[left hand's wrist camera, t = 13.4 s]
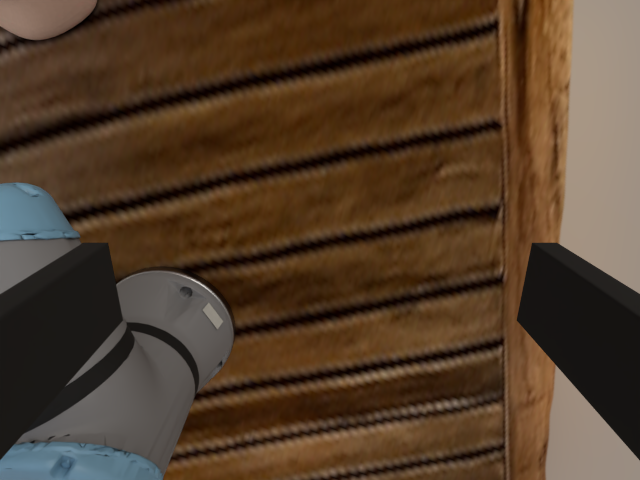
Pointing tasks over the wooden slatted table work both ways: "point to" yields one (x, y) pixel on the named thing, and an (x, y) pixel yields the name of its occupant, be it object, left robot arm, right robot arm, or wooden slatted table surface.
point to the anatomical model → (43, 16)
